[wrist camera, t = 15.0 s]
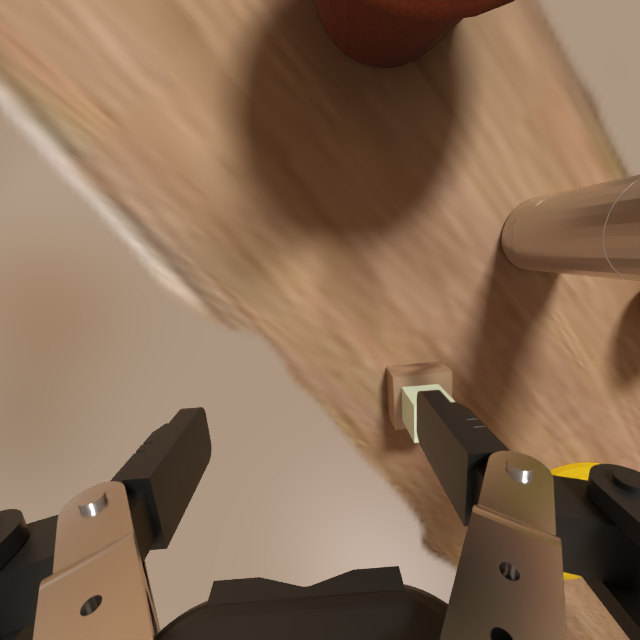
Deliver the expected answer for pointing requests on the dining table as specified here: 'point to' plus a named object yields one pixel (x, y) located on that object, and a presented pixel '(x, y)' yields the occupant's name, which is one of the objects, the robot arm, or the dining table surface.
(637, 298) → the dining table surface
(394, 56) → the potted plant
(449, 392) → the tan square block
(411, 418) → the sage wooden cube
